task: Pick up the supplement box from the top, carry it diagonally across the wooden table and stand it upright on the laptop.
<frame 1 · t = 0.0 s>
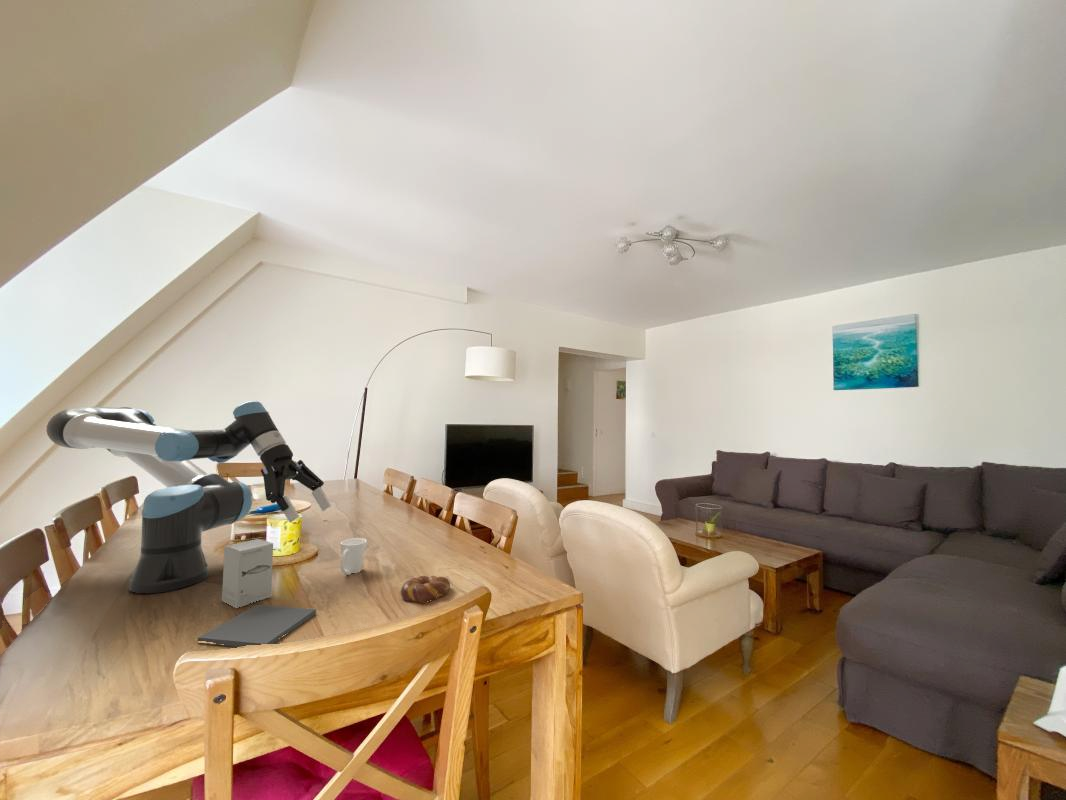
hand: (311, 513, 116), 15 cm above the table, tool tilted 35°, fingers open, 13 cm apart
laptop: (260, 627, 84), on the table
supplement box: (246, 600, 97), on the table
pretzel: (425, 595, 101), on the table
cup: (350, 573, 113), on the table
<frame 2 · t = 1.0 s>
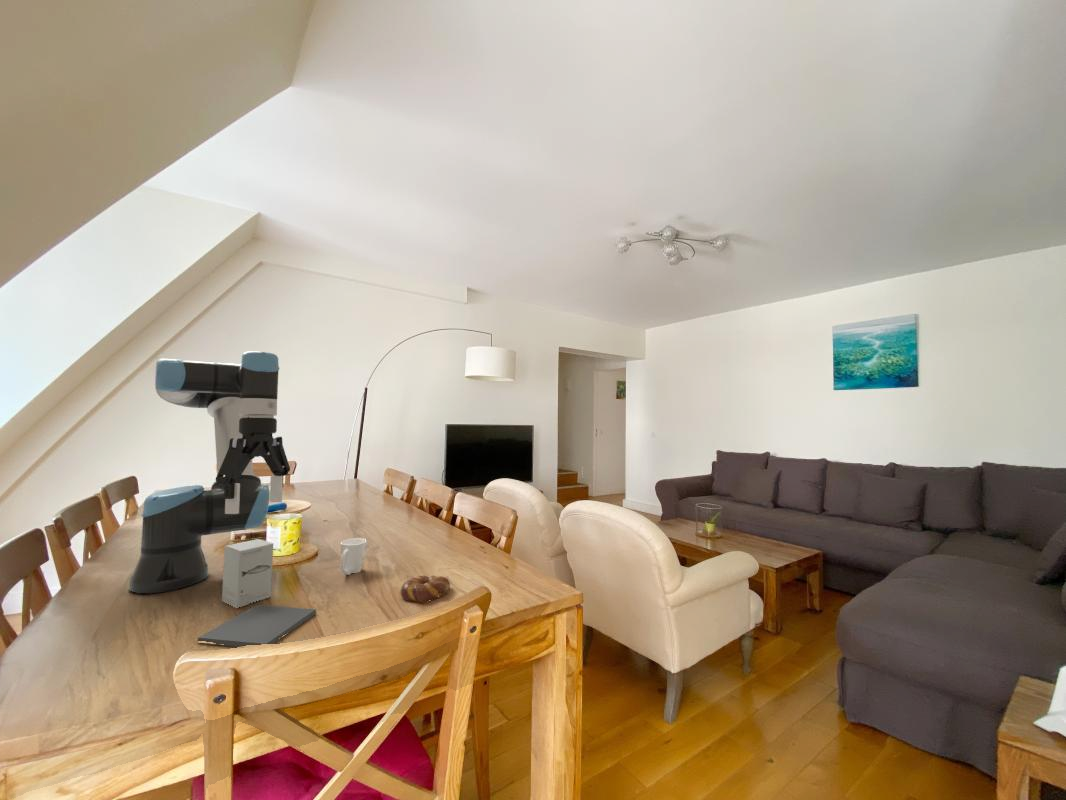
hand: (255, 507, 99), 21 cm above the table, tool pointing down, fingers open, 13 cm apart
nothing on the table moved.
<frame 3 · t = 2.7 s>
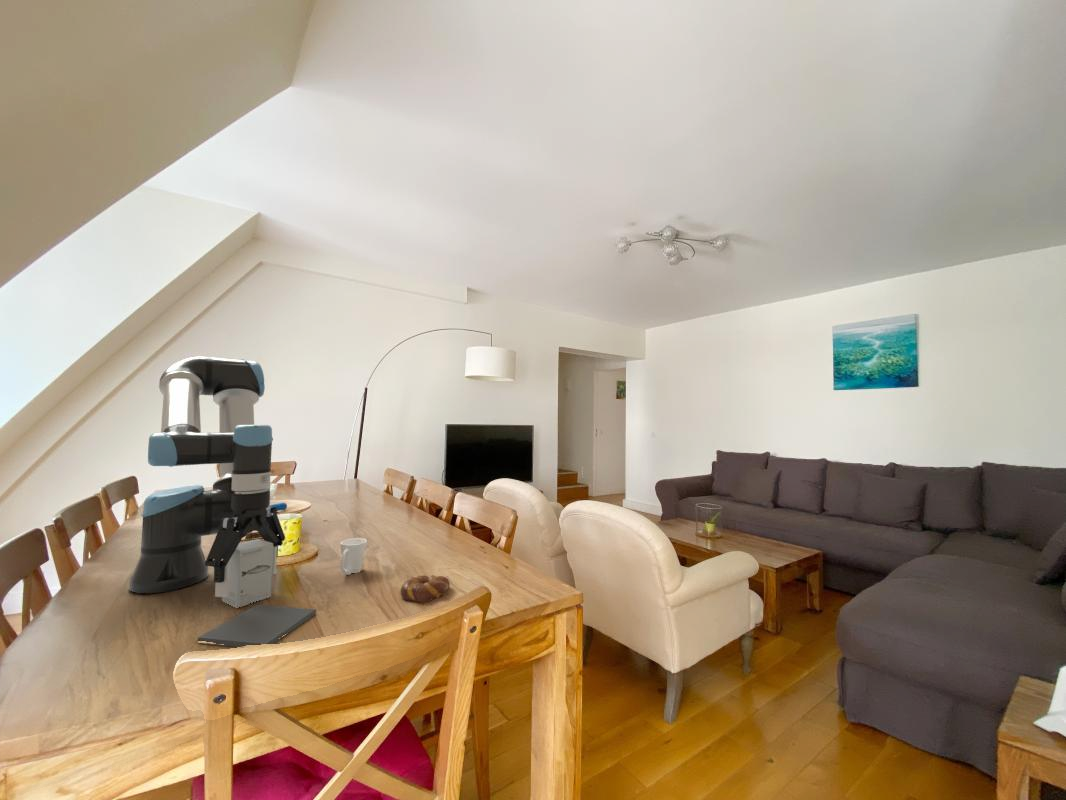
hand: (247, 584, 97), 3 cm above the table, tool pointing down, fingers open, 13 cm apart
nothing on the table moved.
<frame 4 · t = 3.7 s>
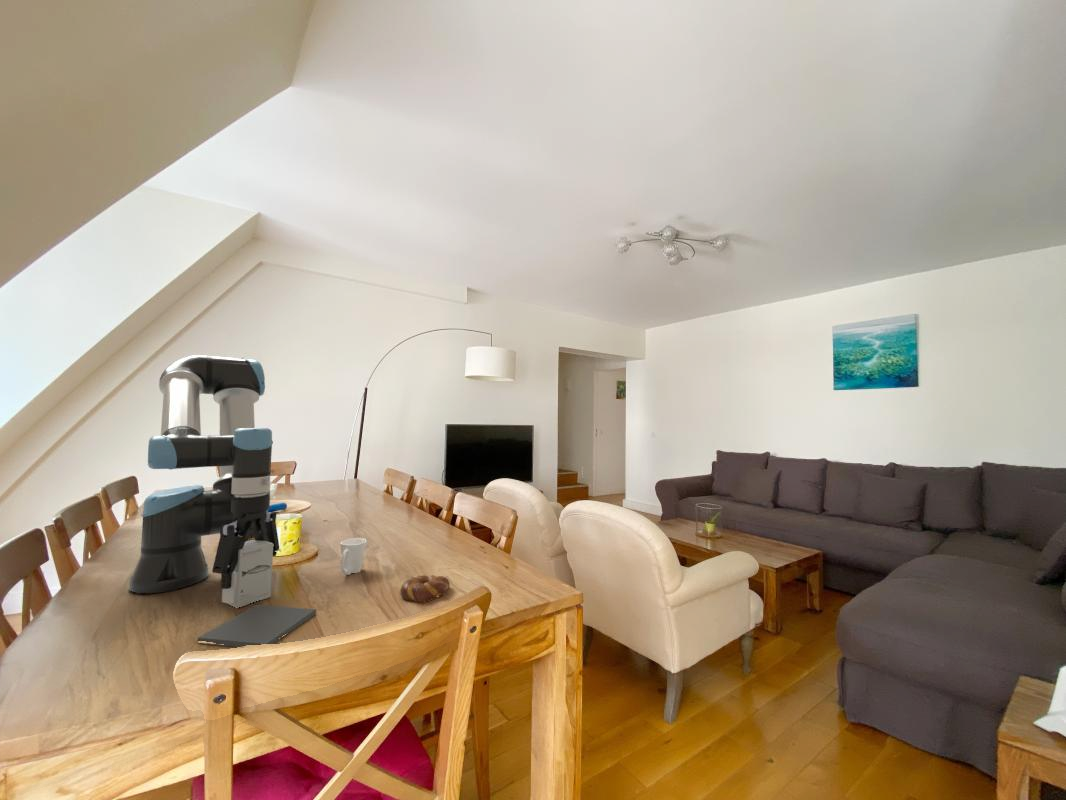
hand: (247, 592, 97), 2 cm above the table, tool pointing down, fingers closed on supplement box, 9 cm apart
supplement box: (246, 600, 97), on the table, touching gripper
everything else where it was.
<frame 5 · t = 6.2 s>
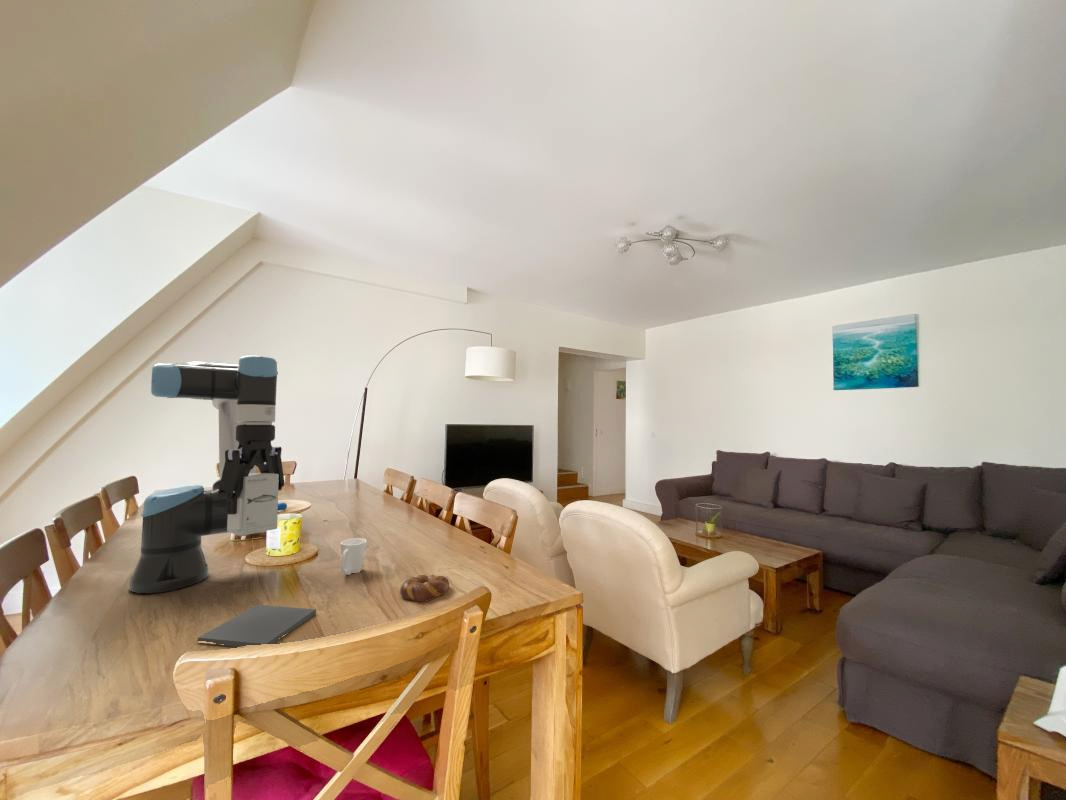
hand: (252, 523, 95), 18 cm above the table, tool pointing down, fingers closed on supplement box, 9 cm apart
supplement box: (252, 531, 95), point 16 cm above the table, touching gripper
everything else where it was.
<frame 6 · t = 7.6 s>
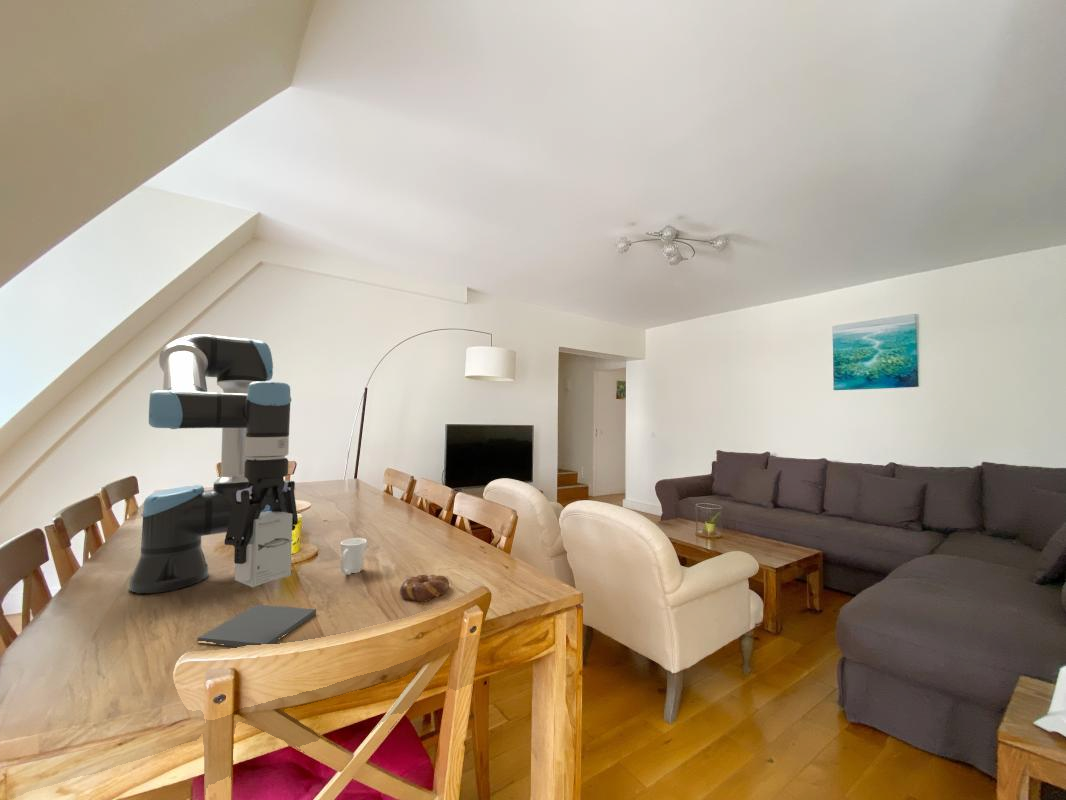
hand: (263, 570, 84), 11 cm above the table, tool pointing down, fingers closed on supplement box, 9 cm apart
supplement box: (263, 579, 84), point 10 cm above the table, touching gripper
everything else where it was.
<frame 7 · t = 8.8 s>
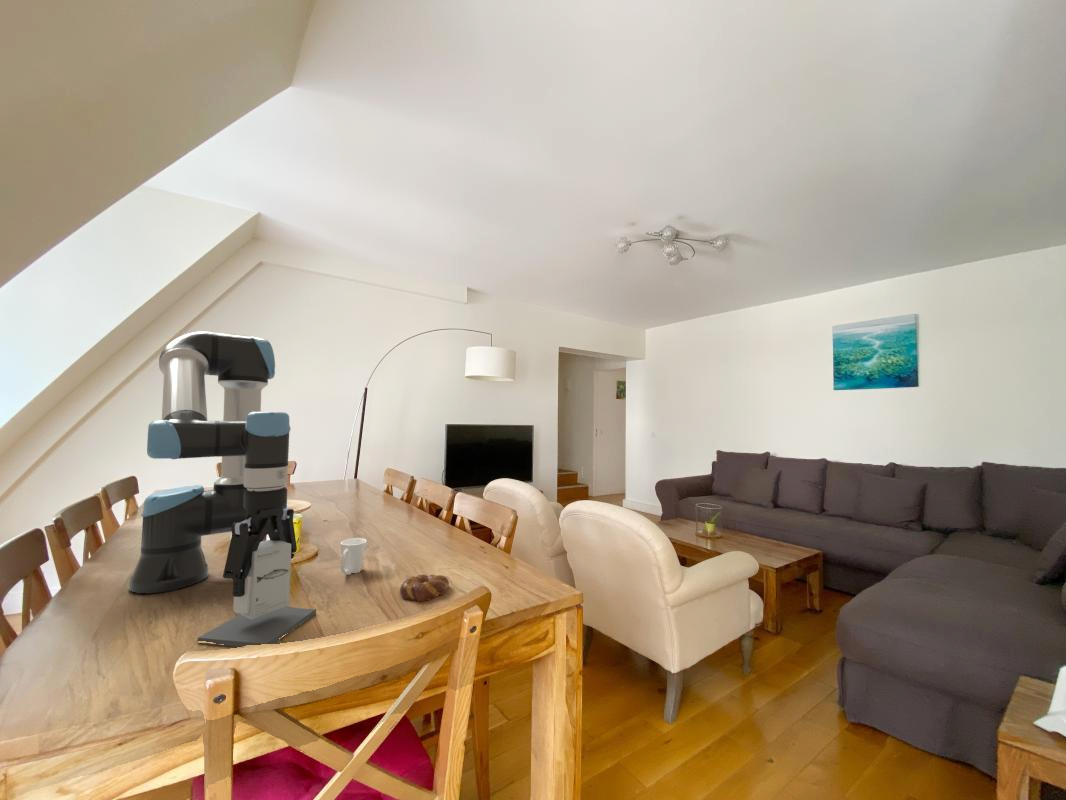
hand: (261, 600, 84), 5 cm above the table, tool pointing down, fingers closed on supplement box, 9 cm apart
supplement box: (262, 609, 84), point 4 cm above the table, touching gripper
everything else where it was.
when the fingers open (4 cm above the table, at t = 9.8 s): supplement box drops 2 cm, resting on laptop.
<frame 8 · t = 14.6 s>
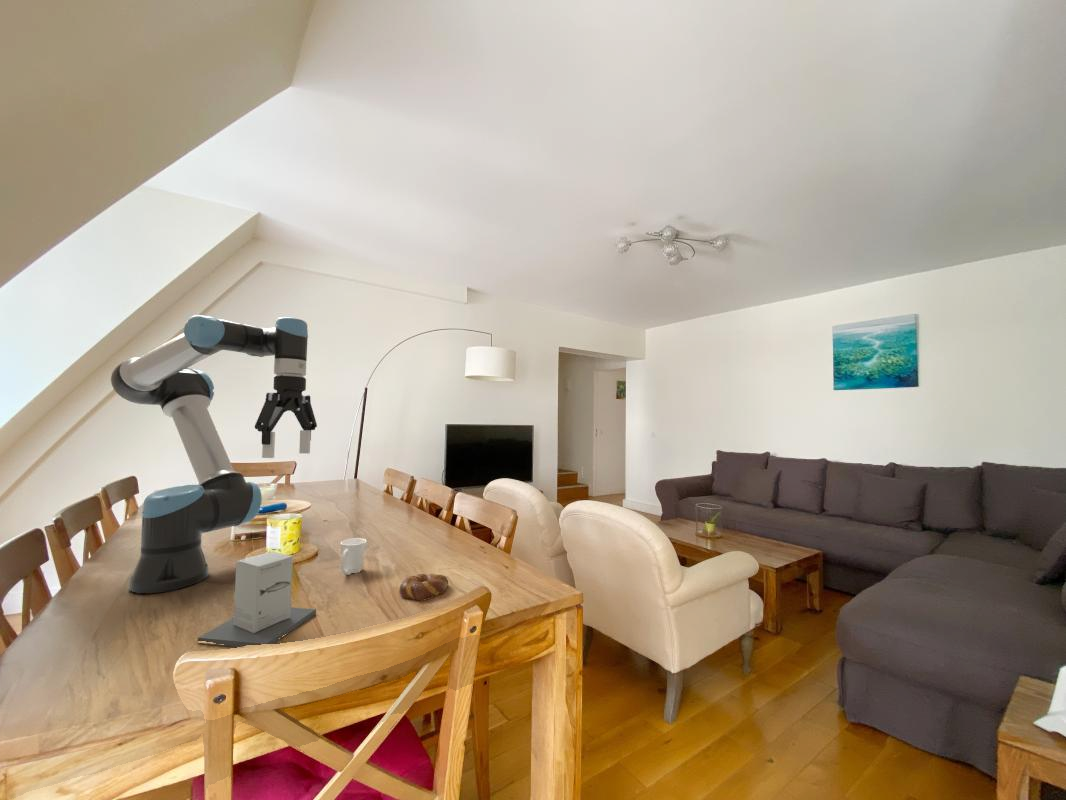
hand: (287, 455, 112), 32 cm above the table, tool pointing down, fingers open, 13 cm apart
supplement box: (262, 622, 84), point 1 cm above the table, touching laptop
at the end: supplement box inside the target area on the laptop (0.3 cm from its centre), point 0.8 cm above the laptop's base; supplement box tilted 0°; the gripper is holding nothing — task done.
